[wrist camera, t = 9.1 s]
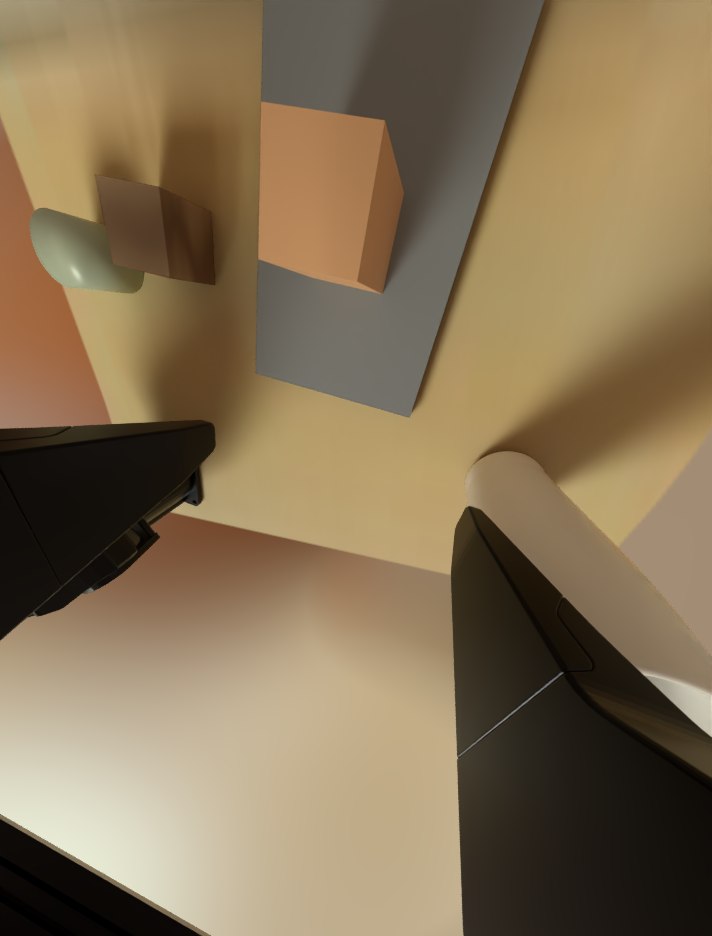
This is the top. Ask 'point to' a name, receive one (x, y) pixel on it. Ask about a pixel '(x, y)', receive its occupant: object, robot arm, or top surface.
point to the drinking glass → (594, 577)
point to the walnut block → (157, 231)
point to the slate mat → (419, 165)
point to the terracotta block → (327, 195)
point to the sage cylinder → (79, 253)
